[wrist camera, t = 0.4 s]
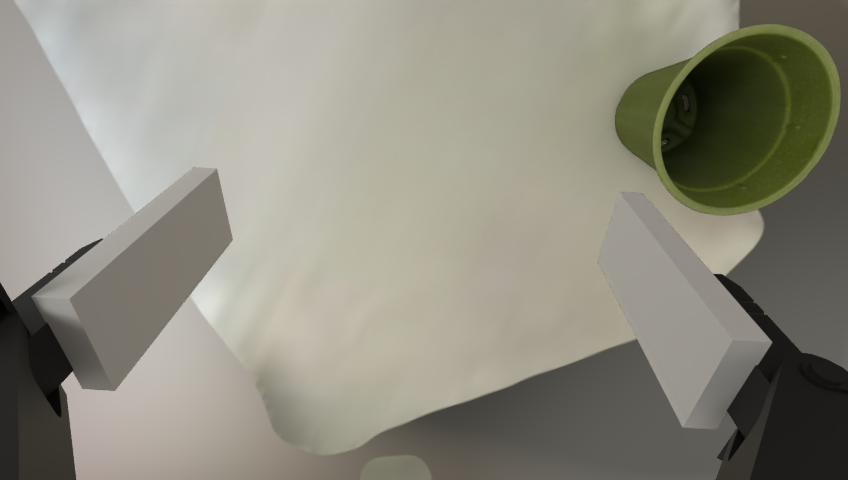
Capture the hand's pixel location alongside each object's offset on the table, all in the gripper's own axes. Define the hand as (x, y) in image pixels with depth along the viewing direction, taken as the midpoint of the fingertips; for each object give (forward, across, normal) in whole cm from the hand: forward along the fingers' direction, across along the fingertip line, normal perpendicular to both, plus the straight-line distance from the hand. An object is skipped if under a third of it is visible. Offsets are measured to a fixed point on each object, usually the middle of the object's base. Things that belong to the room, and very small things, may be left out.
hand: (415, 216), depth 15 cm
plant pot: (+27, +20, -3) cm, 33 cm away
